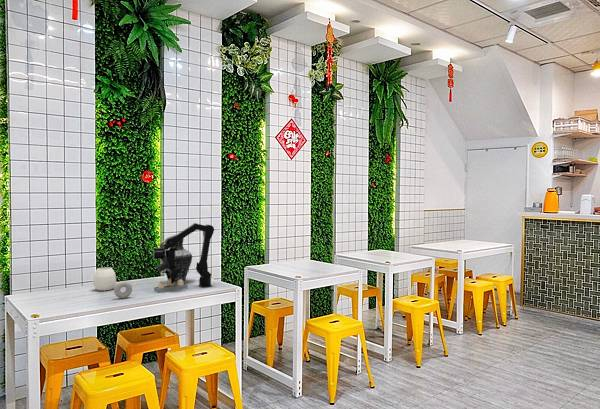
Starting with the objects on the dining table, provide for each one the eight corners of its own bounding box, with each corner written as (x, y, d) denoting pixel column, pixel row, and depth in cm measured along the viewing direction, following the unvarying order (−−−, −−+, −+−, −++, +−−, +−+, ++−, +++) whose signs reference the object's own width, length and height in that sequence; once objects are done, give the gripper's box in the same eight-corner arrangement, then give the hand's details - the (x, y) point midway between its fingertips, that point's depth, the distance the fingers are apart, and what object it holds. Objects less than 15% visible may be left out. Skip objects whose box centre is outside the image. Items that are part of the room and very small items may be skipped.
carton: (183, 286, 312) (183, 277, 312) (187, 288, 307) (187, 279, 307) (154, 290, 300) (153, 281, 300) (158, 292, 295) (158, 283, 295)
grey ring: (114, 300, 277) (114, 282, 276) (113, 298, 280) (113, 281, 279) (133, 297, 282) (132, 280, 281) (131, 296, 285) (131, 279, 284)
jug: (189, 278, 339) (188, 235, 338) (195, 283, 321) (194, 238, 320) (158, 281, 331) (157, 237, 330) (162, 286, 313) (162, 240, 312)
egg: (172, 285, 306) (172, 277, 306) (175, 286, 303) (175, 278, 303) (166, 286, 304) (166, 278, 304) (169, 287, 301) (169, 278, 300)
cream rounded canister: (97, 293, 296) (97, 270, 296) (90, 289, 306) (90, 268, 305) (119, 289, 305) (119, 268, 304) (111, 286, 315) (111, 265, 314)
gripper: (152, 257, 305) (152, 282, 306) (163, 261, 291) (164, 287, 291) (169, 256, 312) (169, 280, 313) (181, 259, 297) (182, 284, 298)
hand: (171, 283), depth 303 cm, fingers closed on egg, 4 cm apart
